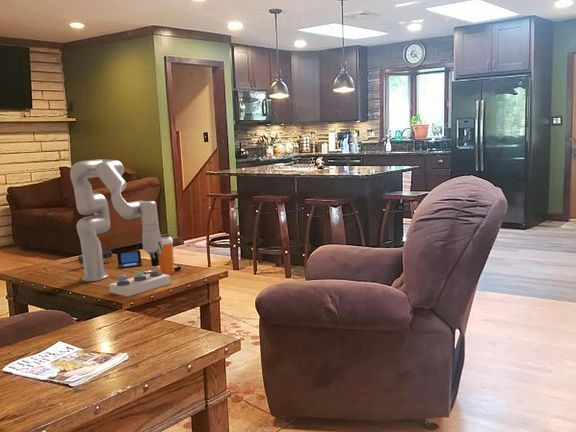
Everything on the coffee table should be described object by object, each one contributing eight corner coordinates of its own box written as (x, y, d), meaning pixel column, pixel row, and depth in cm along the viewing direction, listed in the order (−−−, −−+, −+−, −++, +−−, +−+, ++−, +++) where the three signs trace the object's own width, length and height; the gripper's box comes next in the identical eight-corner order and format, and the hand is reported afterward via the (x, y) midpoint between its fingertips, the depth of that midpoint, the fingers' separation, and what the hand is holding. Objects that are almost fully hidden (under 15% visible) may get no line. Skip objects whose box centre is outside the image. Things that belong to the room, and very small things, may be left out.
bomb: (110, 240, 349) (58, 250, 329) (118, 250, 343) (66, 261, 323) (108, 255, 354) (57, 266, 335) (116, 266, 348) (65, 277, 329)
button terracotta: (149, 270, 287) (148, 267, 287) (156, 268, 290) (156, 265, 290) (154, 271, 284) (154, 268, 284) (162, 269, 287) (161, 266, 287)
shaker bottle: (174, 274, 302) (169, 235, 299) (156, 276, 303) (152, 236, 300) (177, 270, 311) (173, 232, 308) (160, 271, 312) (156, 233, 309)
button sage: (132, 275, 280) (132, 271, 280) (140, 273, 284) (140, 269, 283) (138, 276, 277) (137, 272, 277) (146, 274, 281) (145, 270, 280)
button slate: (115, 279, 274) (115, 276, 274) (124, 277, 277) (123, 274, 277) (121, 281, 271) (120, 277, 271) (129, 278, 274) (129, 275, 274)
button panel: (110, 292, 277) (108, 281, 277) (153, 280, 295) (152, 269, 294) (127, 296, 268) (126, 285, 267) (171, 283, 286) (170, 272, 285)
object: (118, 269, 326) (116, 256, 325) (118, 265, 336) (116, 252, 335) (142, 266, 329) (140, 253, 328) (141, 262, 340) (139, 249, 338)
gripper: (134, 228, 286) (139, 266, 289) (153, 229, 276) (158, 269, 279) (148, 225, 292) (152, 262, 294) (167, 226, 282) (171, 265, 284)
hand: (155, 265), depth 287 cm, fingers closed
